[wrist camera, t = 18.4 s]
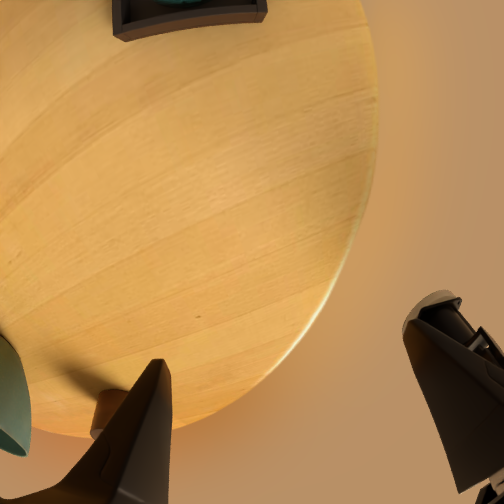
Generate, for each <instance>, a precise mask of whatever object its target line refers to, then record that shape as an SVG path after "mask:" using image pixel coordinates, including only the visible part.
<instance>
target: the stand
mask: <svg viewBox="0 0 504 504" xmlns="http://www.w3.org/2000/svg"><path fill="white" fill-rule="evenodd" d="M128 393H129V392H125V391H121V390H114V389H110V390H104V391H102V392H101V393H100V394H99V397H98V401H97V405H96V409H95V413H94V417H93V421H92V426H91V430H90V435H91V437H92V438H93V439H94V440H96V439H97V437H98V436H99V434H100V433H101V431H103V429H104V427H105V426H106V424H107V423H108V421H109V420H110V418H111V417H112V416H113V414H114V413H115V411H116V410H117V408H118V407H119V405H120V404H121V403H122V401H123V400H124V398H125V397H126V395H127V394H128Z"/></svg>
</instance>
